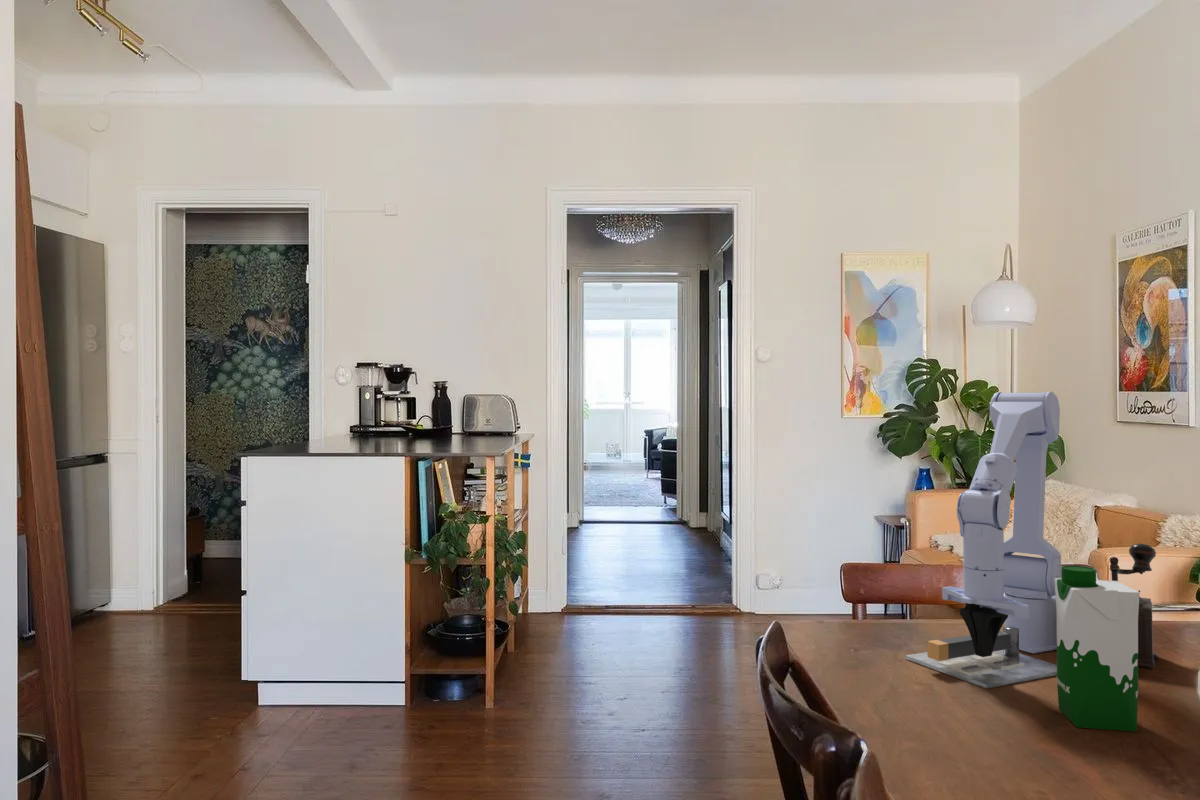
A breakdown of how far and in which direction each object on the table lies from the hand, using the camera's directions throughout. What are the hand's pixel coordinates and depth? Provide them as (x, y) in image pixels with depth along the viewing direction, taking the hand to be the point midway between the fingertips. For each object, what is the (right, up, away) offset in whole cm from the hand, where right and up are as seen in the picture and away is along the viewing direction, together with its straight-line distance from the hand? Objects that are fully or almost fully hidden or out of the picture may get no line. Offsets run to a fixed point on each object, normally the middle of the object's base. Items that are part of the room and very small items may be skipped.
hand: (983, 655), depth 131 cm
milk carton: (+6, -3, -19) cm, 20 cm away
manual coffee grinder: (+28, -3, +12) cm, 30 cm away
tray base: (+2, -3, +5) cm, 6 cm away
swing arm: (0, -1, +4) cm, 5 cm away
